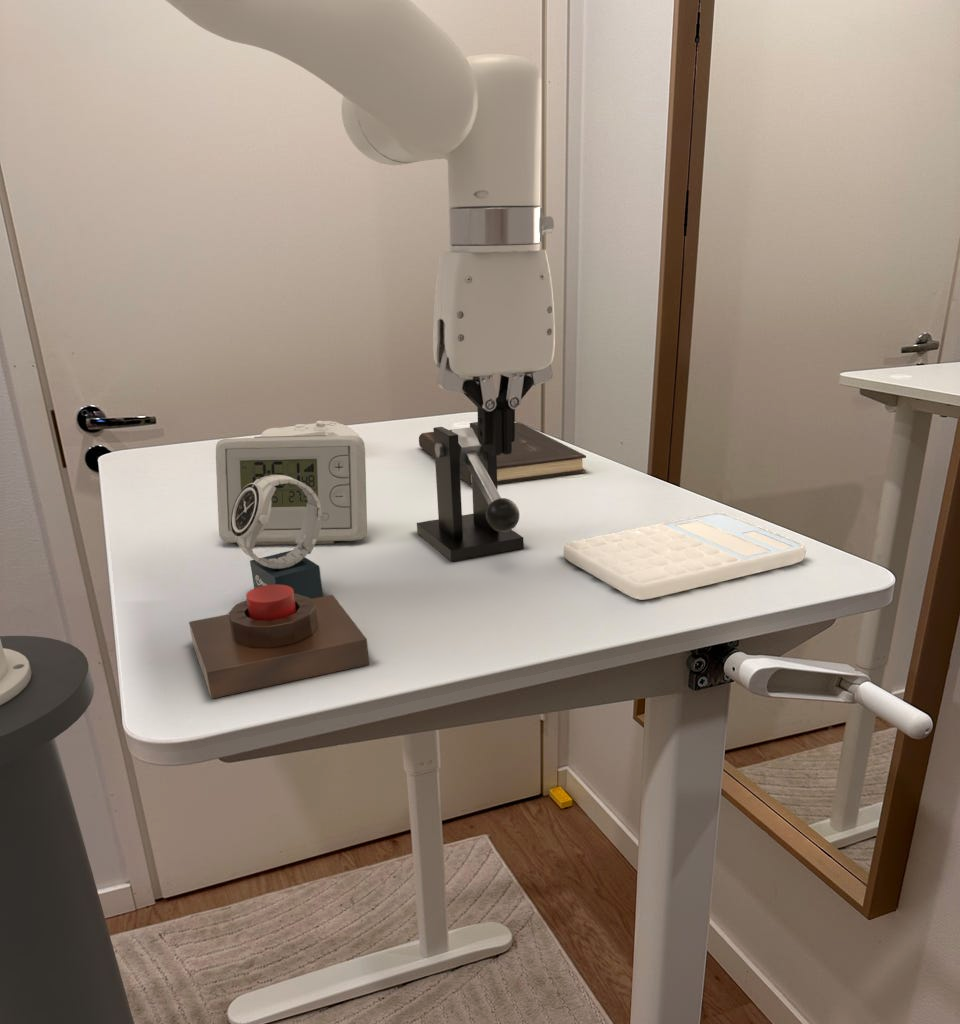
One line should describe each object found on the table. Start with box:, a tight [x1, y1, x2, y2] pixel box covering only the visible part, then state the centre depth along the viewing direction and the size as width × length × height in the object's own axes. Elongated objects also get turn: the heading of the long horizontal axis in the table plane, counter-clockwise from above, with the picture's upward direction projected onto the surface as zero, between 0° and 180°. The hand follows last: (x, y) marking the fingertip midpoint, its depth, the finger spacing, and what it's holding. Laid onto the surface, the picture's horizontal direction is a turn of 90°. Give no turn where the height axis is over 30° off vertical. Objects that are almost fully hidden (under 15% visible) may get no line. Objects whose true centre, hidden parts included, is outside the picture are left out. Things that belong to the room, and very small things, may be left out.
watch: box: [231, 475, 324, 599], centre depth 81 cm, size 6×8×11 cm
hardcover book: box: [418, 421, 587, 487], centre depth 125 cm, size 16×23×2 cm
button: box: [245, 584, 296, 620], centre depth 70 cm, size 4×4×2 cm
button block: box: [188, 594, 370, 700], centre depth 71 cm, size 12×10×4 cm
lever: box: [451, 426, 520, 532], centre depth 88 cm, size 13×3×3 cm, turn 23°
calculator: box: [562, 512, 807, 601], centre depth 87 cm, size 13×20×2 cm, turn 116°
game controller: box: [260, 420, 360, 437], centre depth 131 cm, size 14×4×10 cm
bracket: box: [416, 421, 525, 562], centre depth 93 cm, size 10×8×12 cm
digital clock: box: [215, 435, 368, 546], centre depth 96 cm, size 16×9×11 cm, turn 75°
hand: (496, 451), depth 83 cm, fingers closed
